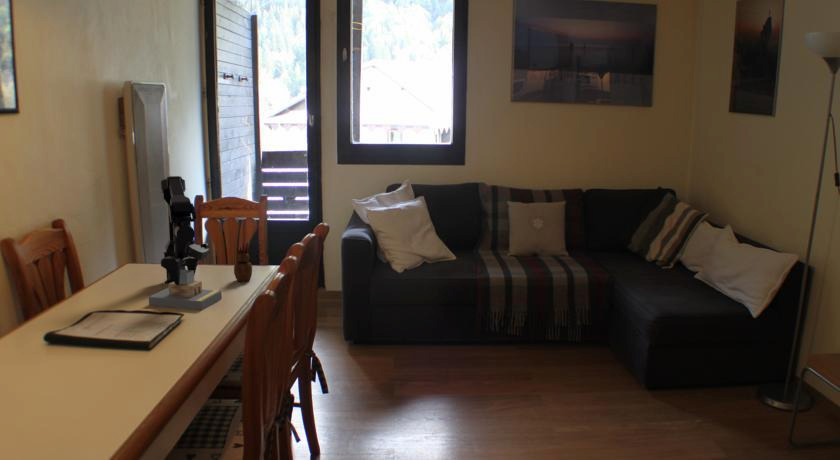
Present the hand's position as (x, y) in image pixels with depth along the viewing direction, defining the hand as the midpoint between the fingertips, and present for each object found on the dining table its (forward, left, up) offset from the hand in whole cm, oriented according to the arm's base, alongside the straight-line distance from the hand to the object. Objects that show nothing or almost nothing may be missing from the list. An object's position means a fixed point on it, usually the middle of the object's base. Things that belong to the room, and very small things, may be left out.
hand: (184, 281), depth 235 cm
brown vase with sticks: (+6, +31, -8) cm, 33 cm away
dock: (0, 0, -8) cm, 8 cm away
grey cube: (0, 0, 0) cm, 1 cm away
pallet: (0, 0, -4) cm, 5 cm away
